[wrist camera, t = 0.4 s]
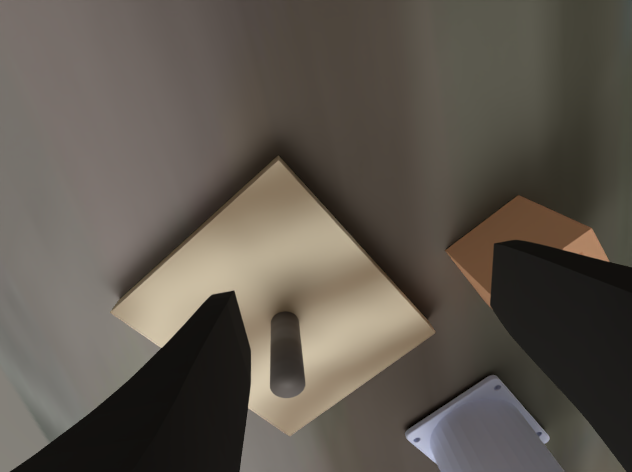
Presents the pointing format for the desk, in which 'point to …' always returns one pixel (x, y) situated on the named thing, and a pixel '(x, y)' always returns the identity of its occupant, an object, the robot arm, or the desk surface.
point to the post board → (284, 297)
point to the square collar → (519, 224)
